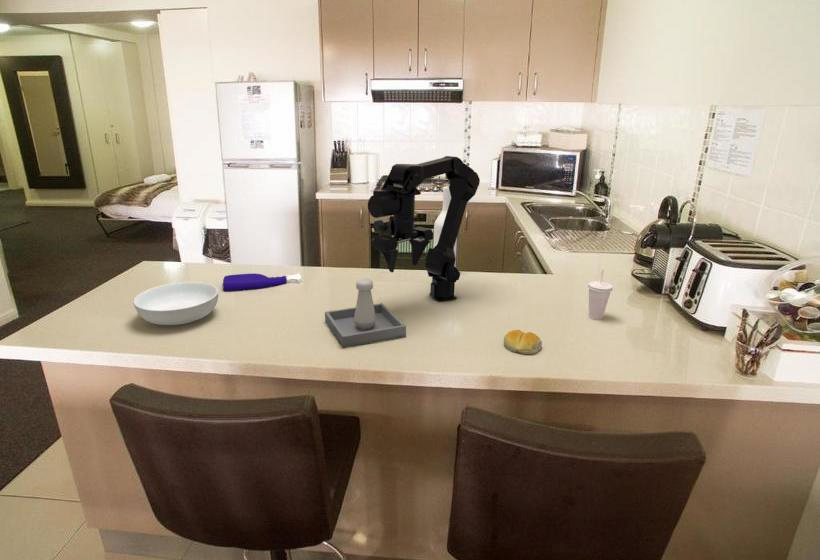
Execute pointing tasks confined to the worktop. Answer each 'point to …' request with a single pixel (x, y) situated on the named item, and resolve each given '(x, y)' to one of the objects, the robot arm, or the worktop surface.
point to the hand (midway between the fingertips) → (403, 268)
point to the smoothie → (598, 298)
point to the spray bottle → (256, 281)
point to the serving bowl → (176, 302)
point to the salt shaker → (364, 305)
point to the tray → (353, 336)
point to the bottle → (441, 218)
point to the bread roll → (522, 342)
